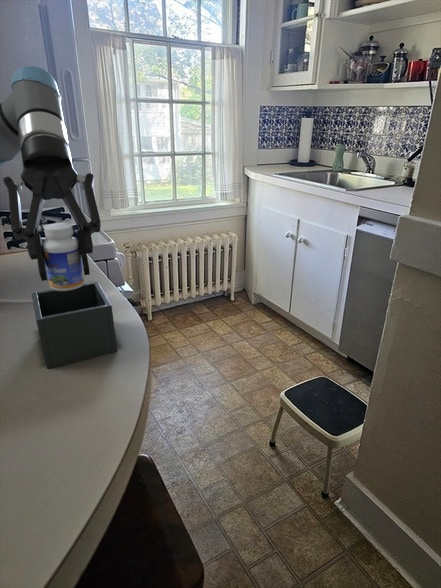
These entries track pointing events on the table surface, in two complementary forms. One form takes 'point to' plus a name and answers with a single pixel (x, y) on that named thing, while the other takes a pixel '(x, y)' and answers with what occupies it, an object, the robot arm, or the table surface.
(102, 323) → the trash bin
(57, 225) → the pill bottle
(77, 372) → the table surface
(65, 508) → the table surface
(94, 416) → the table surface
